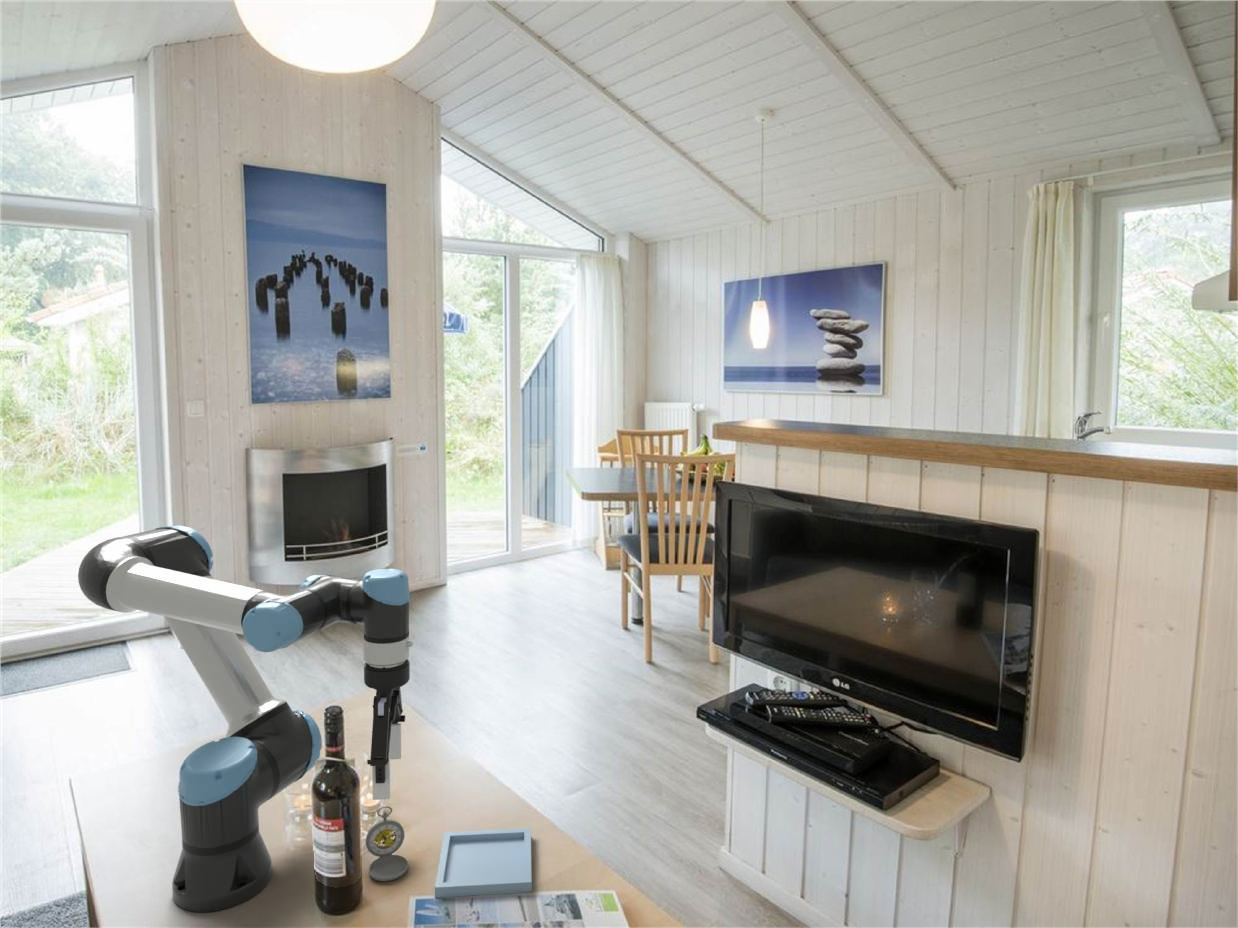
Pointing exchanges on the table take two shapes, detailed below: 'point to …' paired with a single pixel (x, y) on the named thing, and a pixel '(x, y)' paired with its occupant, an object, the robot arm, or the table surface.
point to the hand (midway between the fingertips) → (387, 777)
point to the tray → (484, 863)
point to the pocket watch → (386, 849)
